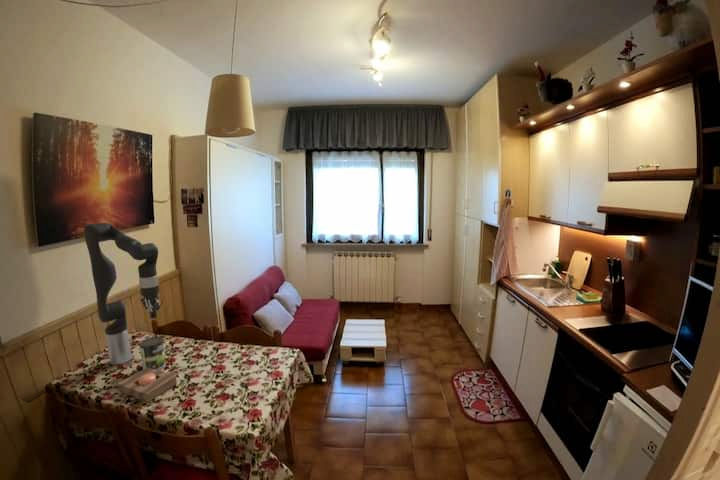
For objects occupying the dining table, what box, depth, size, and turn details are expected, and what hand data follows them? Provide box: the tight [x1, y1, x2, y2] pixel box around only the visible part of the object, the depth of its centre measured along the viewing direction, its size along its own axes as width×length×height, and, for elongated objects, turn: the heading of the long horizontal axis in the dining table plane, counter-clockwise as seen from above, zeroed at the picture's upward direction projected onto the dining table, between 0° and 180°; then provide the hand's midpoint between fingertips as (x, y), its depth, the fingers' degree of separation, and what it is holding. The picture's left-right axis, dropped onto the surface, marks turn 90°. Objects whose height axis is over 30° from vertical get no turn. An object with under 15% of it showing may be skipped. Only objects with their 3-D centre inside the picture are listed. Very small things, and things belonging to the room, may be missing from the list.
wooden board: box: [117, 367, 177, 403], centre depth 146 cm, size 20×14×4 cm
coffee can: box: [138, 336, 167, 370], centre depth 162 cm, size 10×10×14 cm
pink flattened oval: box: [138, 374, 156, 387], centre depth 146 cm, size 7×7×4 cm
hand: (153, 317), depth 153 cm, fingers closed
